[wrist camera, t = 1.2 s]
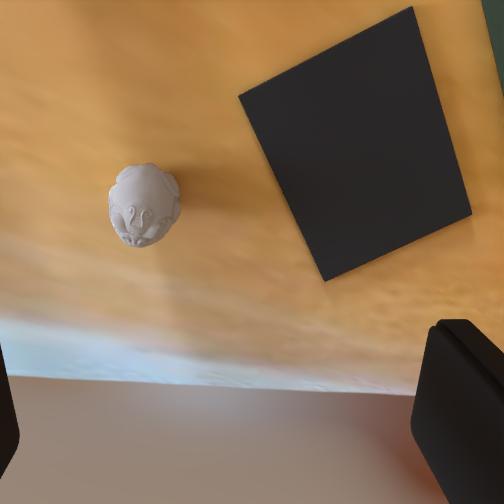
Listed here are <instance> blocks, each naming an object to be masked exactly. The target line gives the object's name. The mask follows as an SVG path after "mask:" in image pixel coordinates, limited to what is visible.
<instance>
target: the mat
mask: <svg viewBox="0 0 504 504" xmlns="http://www.w3.org/2000/svg"><path fill="white" fill-rule="evenodd" d="M238 97H239V99H240V101H241V103H242V106H243V108H244V110H245V112H246V114H247V116H248V118H249V121H250V123H251V125H252V127H253V129H254V131H255V133H256V136H257V138H258V140H259V142H260V144H261V146H262V149H263V151H264V153H265V155H266V157H267V159H268V161H269V164H270V166H271V168H272V170H273V172H274V174H275V176H276V179H277V181H278V183H279V185H280V187H281V189H282V191H283V194H284V196H285V198H286V200H287V202H288V204H289V206H290V209H291V211H292V213H293V215H294V217H295V219H296V222H297V224H298V226H299V228H300V230H301V232H302V234H303V237H304V239H305V241H306V243H307V245H308V247H309V249H310V252H311V254H312V256H313V258H314V260H315V262H316V264H317V267H318V269H319V271H320V273H321V275H322V277H323V280H324V281H325V282H326V281H328V280H330V279H332V278H335V277H337V276H339V275H341V274H343V273H345V272H348V271H350V270H352V269H354V268H356V267H359V266H361V265H363V264H365V263H367V262H369V261H372V260H374V259H376V258H378V257H380V256H383V255H385V254H387V253H389V252H391V251H393V250H396V249H398V248H400V247H402V246H404V245H407V244H409V243H411V242H413V241H415V240H417V239H420V238H422V237H424V236H426V235H428V234H431V233H433V232H435V231H437V230H439V229H441V228H444V227H446V226H448V225H450V224H452V223H455V222H457V221H459V220H461V219H463V218H465V217H468V216H470V215H472V210H471V207H470V204H469V200H468V197H467V193H466V190H465V186H464V183H463V179H462V176H461V172H460V169H459V165H458V162H457V159H456V155H455V152H454V148H453V145H452V141H451V138H450V134H449V131H448V127H447V124H446V120H445V117H444V114H443V110H442V107H441V103H440V100H439V96H438V93H437V89H436V86H435V82H434V79H433V75H432V72H431V69H430V65H429V62H428V58H427V55H426V51H425V48H424V44H423V41H422V37H421V34H420V31H419V27H418V24H417V20H416V17H415V13H414V10H413V7H412V6H411V7H408V8H407V9H405V10H403V11H401V12H399V13H397V14H395V15H393V16H391V17H389V18H387V19H385V20H383V21H381V22H380V23H378V24H376V25H374V26H372V27H370V28H368V29H366V30H364V31H362V32H360V33H358V34H356V35H354V36H353V37H351V38H349V39H347V40H345V41H343V42H341V43H339V44H337V45H335V46H333V47H331V48H329V49H327V50H326V51H324V52H322V53H320V54H318V55H316V56H314V57H312V58H310V59H308V60H306V61H304V62H302V63H301V64H299V65H297V66H295V67H293V68H291V69H289V70H287V71H285V72H283V73H281V74H279V75H277V76H275V77H274V78H272V79H270V80H268V81H266V82H264V83H262V84H260V85H258V86H256V87H254V88H252V89H250V90H248V91H247V92H245V93H243V94H241V95H239V96H238Z"/></svg>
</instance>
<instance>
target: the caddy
mask: <svg viewBox="0 0 504 504" xmlns="http://www.w3.org/2000/svg"><path fill="white" fill-rule="evenodd" d="M482 5H483V9H484V13H485V18H486V22H487V26H488V31H489V35H490V39H491V44H492V48H493V52H494V56H495V61H496V65H497V69H498V74H499V78H500V82H501V87H502V91H503V95H504V0H482Z"/></svg>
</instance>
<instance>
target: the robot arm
mask: <svg viewBox="0 0 504 504" xmlns="http://www.w3.org/2000/svg"><path fill="white" fill-rule="evenodd" d="M411 431H412V434H413V437H414V439H415V441H416V443H417V445H418V447H419V448H420V450H421V452H422V454H423V456H424V458H425V459H426V461H427V463H428V465H429V467H430V469H431V471H432V472H433V474H434V476H435V478H436V480H437V482H438V483H439V485H440V487H441V489H442V491H443V493H444V494H445V496H446V498H447V500H448V502H449V504H504V353H503V352H502V351H501V350H500V349H499V348H498V347H497V346H496V345H494V344H493V343H492V342H491V341H490V340H489V339H488V338H487V337H486V336H485V335H484V334H483V333H482V332H481V331H480V330H479V329H478V328H477V327H476V326H475V325H474V324H472V323H471V322H470V321H469V320H467V319H441V320H439V321H438V322H437V324H436V326H432V327H431V328H430V329H429V332H428V337H427V342H426V347H425V352H424V357H423V362H422V366H421V371H420V376H419V381H418V386H417V391H416V396H415V401H414V406H413V411H412V416H411ZM19 437H20V434H19V427H18V423H17V418H16V413H15V409H14V405H13V400H12V395H11V391H10V387H9V382H8V377H7V373H6V368H5V364H4V359H3V355H2V350H1V345H0V479H1V477H2V475H3V473H4V471H5V469H6V468H7V466H8V464H9V463H10V461H11V459H12V457H13V455H14V454H15V452H16V449H17V447H18V444H19Z"/></svg>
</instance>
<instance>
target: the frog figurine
mask: <svg viewBox="0 0 504 504" xmlns="http://www.w3.org/2000/svg"><path fill="white" fill-rule="evenodd" d="M116 184H117V185H114V186H113V187H112V188H111V190H110V193H109V199H108V202H109V206H110V207H109V214H110V219H111V222H112V224H113V226H114V229H115V231H116V232H117V234H118V235H119V237H120V238H121V239H122V240H123V241H124V242H125V243H126V244H127V245H130V246H132V247H139V248H141V247H145V246H148V245H151V244H153V243H155V242H157V241H159V240H160V239H161V238H163V237H164V235H165V234H166V233H167V232H168V230H169V229H170V227H171V225H172V224H174V223H175V222H176V220H177V219H178V217H179V214H180V209H181V203H180V202H179V200H178V199H179V197H180V190H179V186H178V184H177V182H176V181H175V178H174V176H173V175H171V174H170V173H167V172H163V171H162V170H161V169H159V168H158V167H157V166H156V165H154V164H153V163H148V164H142V165H131V166H129V167H127V168H125V169H123V170H122V171H121V172H120V174H119V175H118V177H117V178H116Z"/></svg>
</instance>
